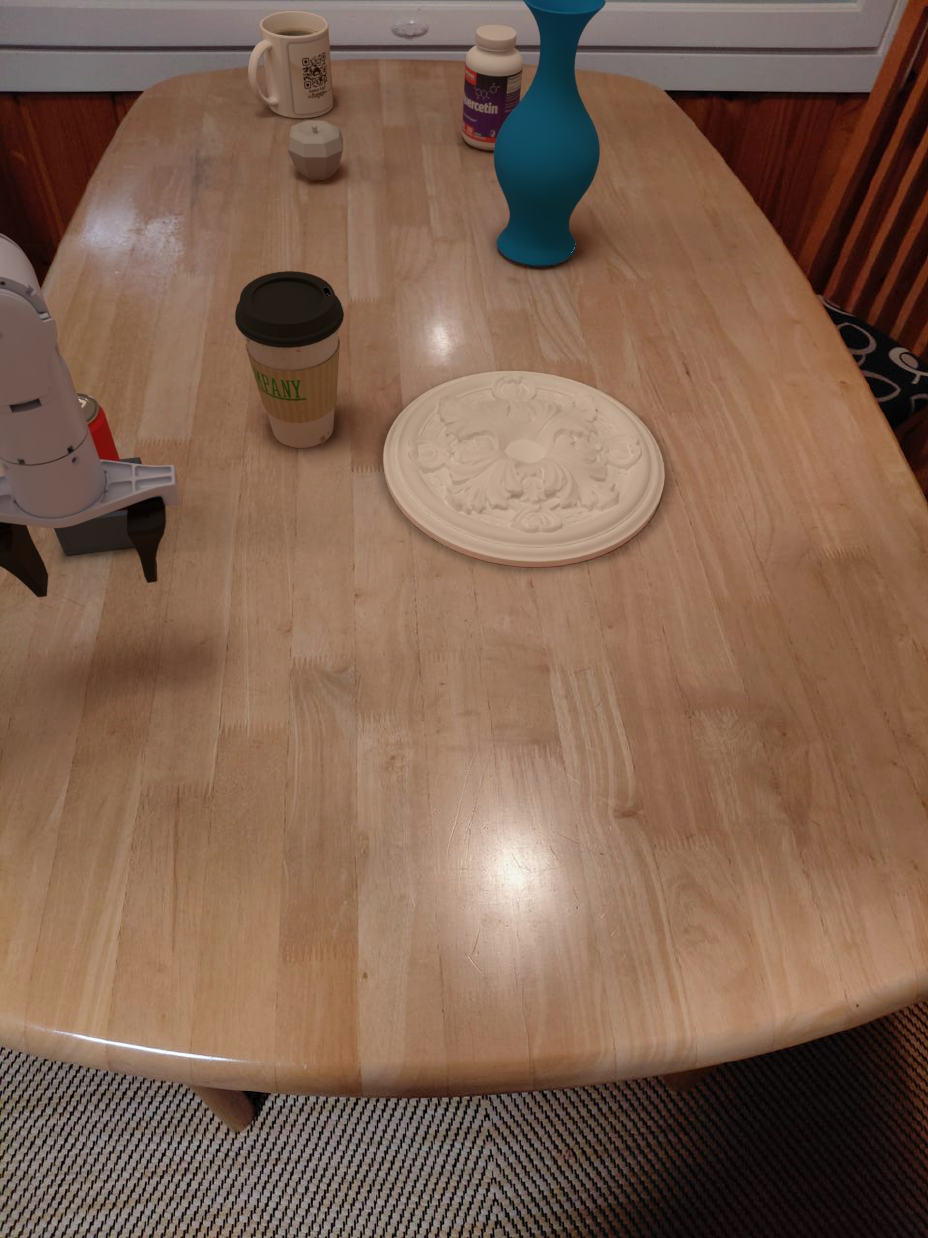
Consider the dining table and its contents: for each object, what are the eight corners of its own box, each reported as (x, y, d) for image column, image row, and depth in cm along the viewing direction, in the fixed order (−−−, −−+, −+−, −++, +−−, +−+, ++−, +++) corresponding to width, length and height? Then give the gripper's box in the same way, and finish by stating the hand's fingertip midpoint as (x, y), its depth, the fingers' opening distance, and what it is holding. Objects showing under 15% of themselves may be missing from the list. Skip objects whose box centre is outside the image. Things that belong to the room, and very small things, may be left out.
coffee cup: (247, 405, 97) (224, 274, 85) (339, 391, 99) (329, 261, 88) (263, 467, 91) (241, 335, 80) (361, 450, 93) (353, 320, 82)
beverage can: (65, 523, 84) (21, 418, 75) (103, 488, 87) (66, 383, 78) (110, 543, 83) (72, 439, 74) (148, 507, 86) (115, 402, 77)
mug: (335, 120, 139) (330, 38, 131) (253, 121, 138) (243, 38, 129) (331, 90, 146) (326, 10, 137) (254, 91, 144) (243, 10, 136)
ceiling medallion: (549, 616, 81) (553, 593, 79) (324, 466, 92) (322, 441, 89) (715, 459, 95) (723, 435, 92) (503, 344, 106) (505, 320, 103)
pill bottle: (450, 141, 137) (454, 31, 125) (483, 123, 141) (489, 15, 129) (495, 159, 134) (502, 48, 122) (527, 140, 138) (537, 31, 127)
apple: (333, 193, 126) (330, 143, 120) (279, 182, 127) (274, 132, 122) (355, 167, 130) (353, 118, 125) (303, 156, 132) (299, 107, 126)
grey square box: (65, 555, 83) (51, 523, 80) (68, 498, 88) (55, 465, 84) (150, 545, 84) (140, 512, 81) (149, 489, 89) (139, 456, 86)
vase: (602, 262, 117) (645, 11, 96) (514, 282, 114) (538, 25, 92) (556, 217, 124) (586, -28, 102) (471, 234, 120) (484, -16, 99)
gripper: (159, 382, 61) (197, 527, 72) (-78, 405, 59) (-3, 552, 69) (161, 453, 57) (201, 596, 67) (-94, 481, 54) (-12, 625, 65)
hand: (97, 579), depth 68 cm, fingers open, 7 cm apart
